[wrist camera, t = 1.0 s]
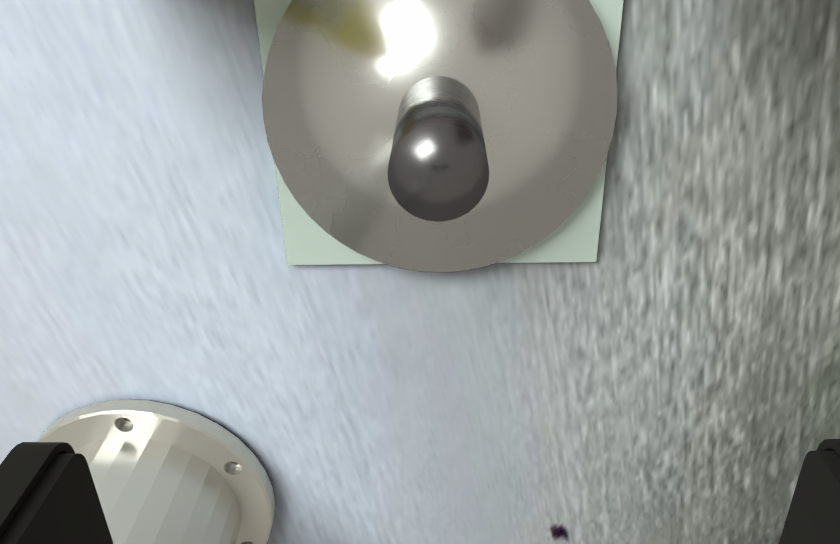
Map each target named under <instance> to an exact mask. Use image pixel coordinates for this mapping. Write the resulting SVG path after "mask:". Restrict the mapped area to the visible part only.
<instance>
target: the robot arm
mask: <svg viewBox="0 0 840 544" xmlns="http://www.w3.org/2000/svg"><path fill="white" fill-rule="evenodd" d="M274 513H275V499H274V493H273V487H272V485H271V483H270V480H269V478H268V475H267V473H266V471H265V469H264V468H263V466H262V465H261V463H260V462H259V461H258V459H257V458H256V456H255V455H254V453H253V452H252V451H251V450H250V449H249V448H247V447H246V446H245V445H244V444H243V443H242V442H241V441H240V440H239V439H238V438H237V437H236V436H234V435H233V434H232V433H230V432H229V431H227V430H226V429H224V428H223V427H222V426H220V425H219V424H217V423H215V422H213V421H211V420H209V419H207V418H205V417H203V416H201V415H199V414H197V413H195V412H192V411H189V410H186V409H183V408H180V407H177V406H174V405H170V404H164V403H159V402H153V401H148V400H127V399H120V400H112V401H104V402H97V403H94V404H90V405H87V406H84V407H81V408H77V409H75V410H73V411H71V412H70V413H68V414H66V415H64V416H62V417H60V418H59V419H57V420H56V421H55V422H54V423H53V424H52V425H51V426H50V427H49V428H47V429H46V430H45V431H44V433H43V434H42V436H41V437H40V438H39V440H38V441H37V442H22V443H20V444H18V445H16V446H15V447H14V448H13V449H12V450H11V451H10V453H9V454H8V455H7V457H6V458H5V459H4V461H3V462H2V463H1V465H0V544H266V543H267V542H268V539H269V536H270V532H271V529H272V525H273V521H274ZM779 544H840V439H827V440H824V441H822V442H821V443H820V445H819V447H818V449H817V451H810V452H808V453H807V454H806V457H805V459H804V462H803V465H802V468H801V472H800V475H799V478H798V482H797V485H796V488H795V492H794V495H793V498H792V502H791V505H790V508H789V512H788V515H787V518H786V522H785V525H784V528H783V532H782V535H781V538H780V542H779Z"/></svg>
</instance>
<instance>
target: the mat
mask: <svg viewBox="0 0 840 544" xmlns="http://www.w3.org/2000/svg"><path fill="white" fill-rule="evenodd" d="M589 1H590V3H591V4H592V6H593V8H594V10H595V12H596V13H597V15H598V17H599V19H600V21H601V23H602V25H603V28H604V30H605V33H606V35H607V38H608V41H609V43H610V47H611V51H612V55H613V59H614V64H615V68H616V67H617V58H618V48H619V39H620V29H621V20H622V10H623V0H589ZM291 2H292V0H254V6H255V14H256V22H257V30H258V38H259V46H260V54H261V62H262V69H263V77H264V71H265V66H266V62H267V57H268V52H269V49H270V46H271V43H272V40H273V37H274V35H275V32H276V29H277V27H278V25H279V23H280V21H281V19H282V17H283V15H284V13H285V11H286V9H287V7H288V6H289V4H290V3H291ZM606 163H607V157H606V160H605V162H604V164H603V166H602V168H601V170H600V173H599V175H598V177H597V179H596V181H595V182H594V184H593V185H592V187H591V189H590V190H589V192H588V193H587V195H586V197H585V198H584V199H583V201H582V202H581V203H580V204H579V205H578V207H577V208H576V209H575V210H574V212H573V213H572V214H571V215H570V216H569V217H568V218H567V219H566V220H565V221H564V222H563V223H562V224H561V225H560V226H559V227H558V228H557V229H556V230H554V231H553V232H552V233H550V234H549V235H548V236H546V237H545V238H544V239H542V240H541V241H540V242H538V243H537V244H535V245H533V246H531V247H530V248H528V249H526V250H525V251H523V252H521V253H519V254H517V255H514V256H512V257H510V258H508V259H505V260H503V261H500V262H497V263H536V262H596V259H597V249H598V240H599V230H600V221H601V211H602V201H603V192H604V182H605V173H606ZM274 164H275V161H274ZM275 172H276V180H277V188H278V196H279V204H280V212H281V220H282V227H283V235H284V243H285V251H286V259H287V265H331V264H384V263H380V262H378V261H375V260H373V259H371V258H368V257H366V256H363V255H361V254H359V253H357V252H356V251H354V250H352V249H350V248H348V247H347V246H345V245H343V244H342V243H340V242H339V241H338V240H336V239H335V238H333V237H332V236H331V235H329V234H328V233H327V232H325V231H324V230H323V229H322V228H321V227H320V226H319V225H318V224H317V223H316V222H315V221H314V220H312V219H311V218H310V217H309V215H308V214H307V213H306V212H305V211H304V209H303V208H302V207H301V206H300V205H299V204H298V202H297V201H296V200H295V198H294V197H293V195H292V193H291V192H290V190H289V189H288V187H287V186H286V184H285V183H284V181H283V178H282V176H281V174H280V172H279V170H278V168H277V166H276V164H275Z"/></svg>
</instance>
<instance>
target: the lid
mask: <svg viewBox="0 0 840 544" xmlns="http://www.w3.org/2000/svg"><path fill="white" fill-rule="evenodd" d="M617 96H618V89H617V79H616V68H615V64H614V59H613V55H612V51H611V47H610V43H609V41H608V38H607V35H606V33H605V30H604V28H603V25H602V23H601V21H600V19H599V17H598V15H597V13H596V12H595V10H594V8H593V6H592V4H591V3H590V1H589V0H292V2H291V3H290V4H289V6H288V7H287V9H286V11H285V13H284V15H283V17H282V19H281V21H280V23H279V25H278V27H277V29H276V32H275V35H274V37H273V40H272V43H271V46H270V49H269V52H268V57H267V62H266V66H265V71H264V80H263V94H262V101H263V117H264V124H265V129H266V134H267V139H268V143H269V146H270V149H271V152H272V155H273V158H274V161H275V164H276V166H277V168H278V170H279V172H280V174H281V176H282V178H283V181H284V183H285V184H286V186H287V187H288V189H289V190H290V192H291V193H292V195H293V197H294V198H295V200H296V201H297V202H298V204H299V205H300V206H301V207H302V208H303V209H304V211H305V212H306V213H307V214H308V215H309V217H310V218H311V219H312V220H314V221H315V222H316V223H317V224H318V225H319V226H320V227H321V228H322V229H323V230H324V231H325V232H327V233H328V234H329V235H331V236H332V237H333V238H335V239H336V240H338V241H339V242H340V243H342V244H343V245H345V246H347V247H348V248H350V249H352V250H354V251H356V252H357V253H359V254H361V255H363V256H366V257H368V258H371V259H373V260H375V261H378V262H380V263H384V264H387V265H391V266H394V267H398V268H403V269H409V270H415V271H423V272H454V271H464V270H469V269H475V268H480V267H484V266H487V265H491V264H494V263H497V262H500V261H503V260H505V259H508V258H510V257H512V256H514V255H517V254H519V253H521V252H523V251H525V250H526V249H528V248H530V247H531V246H533V245H535V244H537V243H538V242H540V241H541V240H542V239H544V238H545V237H546V236H548V235H549V234H550V233H552V232H553V231H554V230H556V229H557V228H558V227H559V226H560V225H561V224H562V223H563V222H564V221H565V220H566V219H567V218H568V217H569V216H570V215H571V214H572V213H573V212H574V210H575V209H576V208H577V207H578V205H579V204H580V203H581V202H582V201H583V199H584V198H585V197H586V195H587V193H588V192H589V190H590V189H591V187H592V185H593V184H594V182H595V181H596V179H597V177H598V175H599V173H600V170H601V168H602V166H603V164H604V162H605V160H606V157H607V154H608V151H609V147H610V144H611V141H612V138H613V133H614V127H615V121H616V116H617Z"/></svg>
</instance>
